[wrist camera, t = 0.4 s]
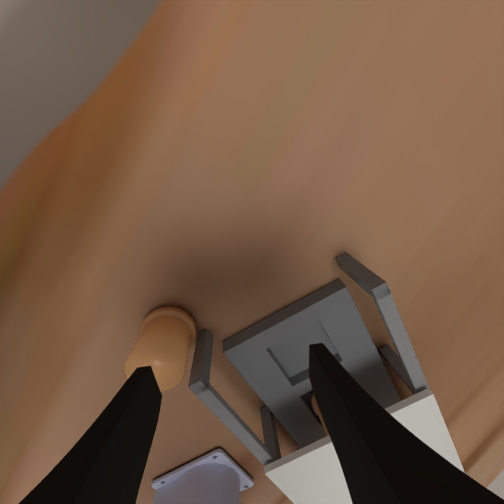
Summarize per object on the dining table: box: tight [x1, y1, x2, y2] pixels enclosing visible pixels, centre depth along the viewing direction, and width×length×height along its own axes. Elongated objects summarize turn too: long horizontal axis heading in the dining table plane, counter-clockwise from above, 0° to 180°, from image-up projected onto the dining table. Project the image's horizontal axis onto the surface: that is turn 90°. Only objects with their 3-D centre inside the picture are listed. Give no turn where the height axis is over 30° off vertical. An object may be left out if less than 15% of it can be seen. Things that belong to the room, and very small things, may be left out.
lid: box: [264, 388, 466, 504], centre depth 20 cm, size 15×13×2 cm
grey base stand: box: [188, 252, 430, 466], centre depth 23 cm, size 15×24×6 cm, turn 30°
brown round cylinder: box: [125, 307, 196, 392], centre depth 19 cm, size 5×5×5 cm
